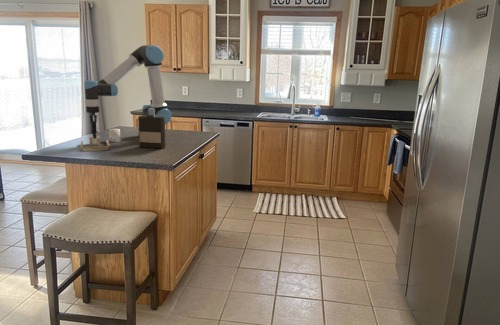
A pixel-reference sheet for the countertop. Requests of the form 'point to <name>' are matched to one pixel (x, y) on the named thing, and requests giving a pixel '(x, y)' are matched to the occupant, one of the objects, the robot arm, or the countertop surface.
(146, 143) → the bottle
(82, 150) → the wooden l-shaped bracket
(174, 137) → the countertop surface
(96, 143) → the oak block
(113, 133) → the white rounded capsule
